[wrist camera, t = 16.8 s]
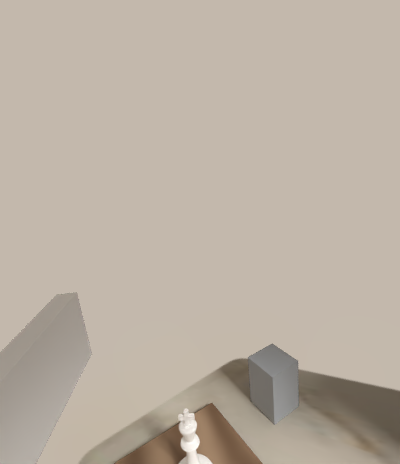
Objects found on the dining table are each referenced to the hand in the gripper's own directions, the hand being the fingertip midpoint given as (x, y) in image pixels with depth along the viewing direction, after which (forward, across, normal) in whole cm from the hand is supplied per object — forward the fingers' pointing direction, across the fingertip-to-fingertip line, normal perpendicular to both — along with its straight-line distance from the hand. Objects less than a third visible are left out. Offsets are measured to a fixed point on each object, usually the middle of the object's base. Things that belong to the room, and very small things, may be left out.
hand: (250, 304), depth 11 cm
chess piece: (+15, -5, -31) cm, 34 cm away
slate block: (+25, +7, -32) cm, 41 cm away
